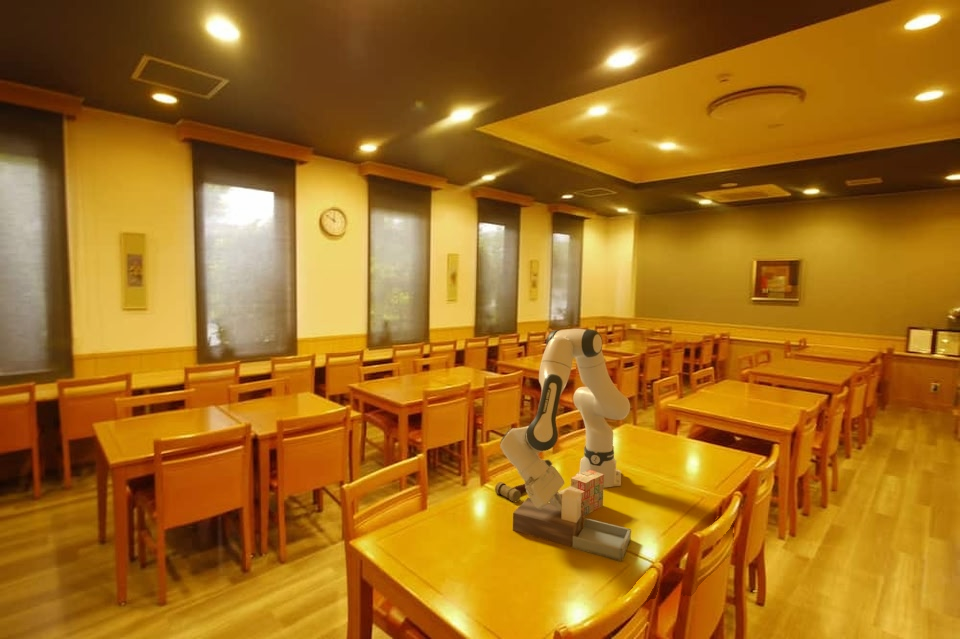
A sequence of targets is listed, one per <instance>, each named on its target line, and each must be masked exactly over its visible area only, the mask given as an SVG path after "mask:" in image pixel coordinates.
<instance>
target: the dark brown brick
mask: <svg viewBox="0 0 960 639" xmlns="http://www.w3.org/2000/svg"><path fill="white" fill-rule="evenodd" d="M561 513H562V509H561V510H558V509H557V508H556V507H555V506H554V505H552V504H550V502H548V503H547V504H546V505H545V506H544V507H543V508H541V509H538V508H536V507H535V505H534V504H533V502H532V501H531V499H530V498H529V497H527V498H526V499H525V500H524V501H523V502H522V503H521V504H520V505H519V506H518V507H517V508H516V510H514V512H513V513H512V531H514V532H517V533H521V534H524V535H528V536H532V537H536V538H538V539H541V540H542V539H543V540H546V541H550V542H554V543H557V544H560V545H564V546H568V547H571V548H573V536H576V537H578V536H579V534H580V532H581V531H582V528H584V517H583V511H582V510H581V517H580V518H579V520H578V521H577V523H575V522H571V521H567V520H563V519H561Z"/></svg>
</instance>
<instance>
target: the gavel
mask: <svg viewBox="0 0 960 639" xmlns="http://www.w3.org/2000/svg"><path fill="white" fill-rule="evenodd" d="M526 486H527V485H526ZM494 492H495V493H496V494H497V495H500V494H501V495H500V496H503V497H505V498H507V499H508V500H509V501H510V500H511V502H512V501H513V502H512V503H516V502H515V501H517V502H519V501H518V500H520V499H521V497H522V492H526V488H525V483H523V484H520V485H516V486H514V487H511V486H508V485H506V483H505V482H502V481H499V482H497V484H496V485H495V487H494Z"/></svg>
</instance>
